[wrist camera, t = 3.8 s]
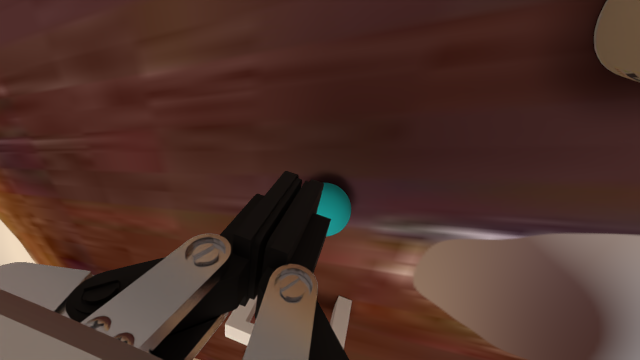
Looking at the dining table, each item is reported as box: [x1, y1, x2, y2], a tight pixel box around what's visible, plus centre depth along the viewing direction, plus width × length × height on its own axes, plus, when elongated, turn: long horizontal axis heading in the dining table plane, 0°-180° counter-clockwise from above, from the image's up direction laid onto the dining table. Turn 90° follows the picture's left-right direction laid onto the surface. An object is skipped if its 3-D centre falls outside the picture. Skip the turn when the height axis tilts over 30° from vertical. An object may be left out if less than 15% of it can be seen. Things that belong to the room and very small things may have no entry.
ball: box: [316, 183, 351, 236], centre depth 26 cm, size 6×6×6 cm
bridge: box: [225, 296, 352, 349], centre depth 34 cm, size 3×14×9 cm, turn 77°
